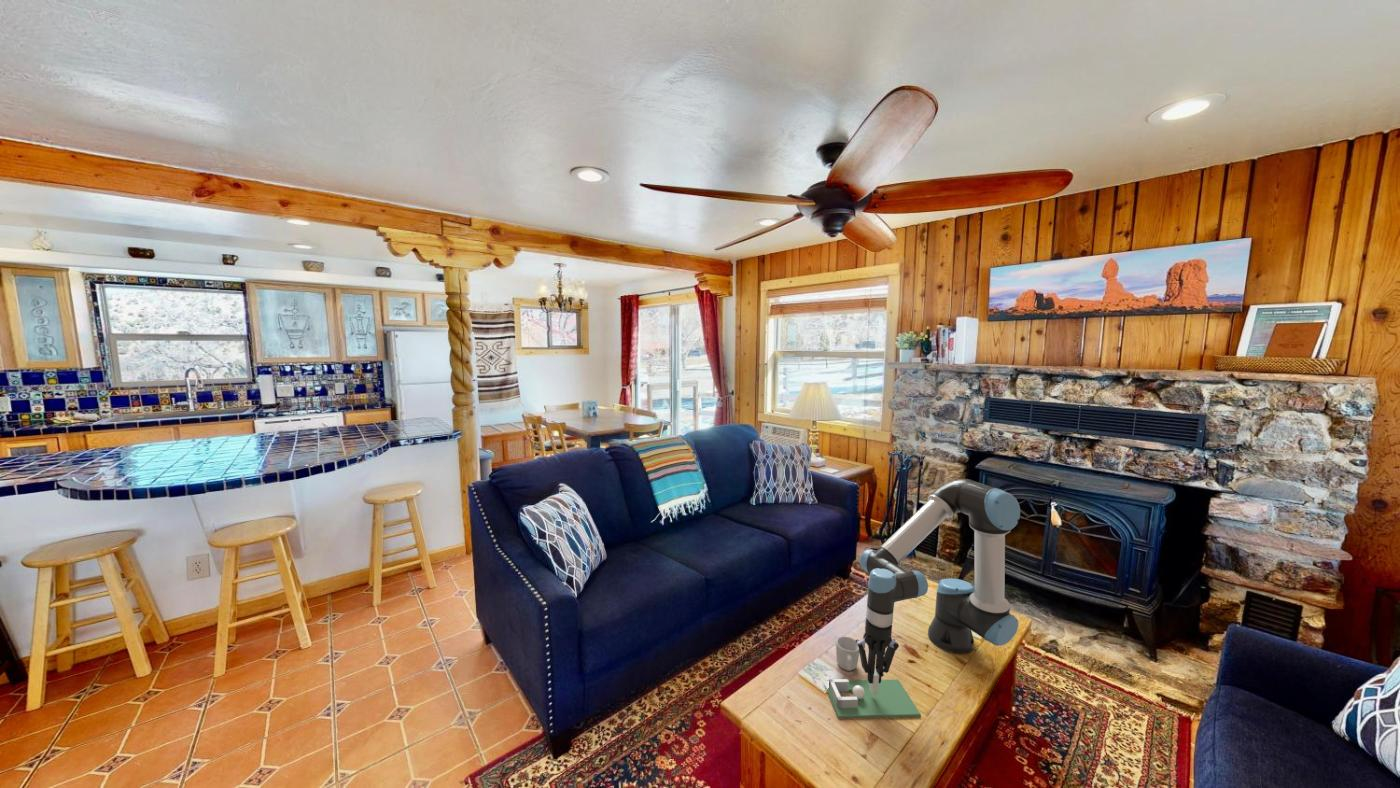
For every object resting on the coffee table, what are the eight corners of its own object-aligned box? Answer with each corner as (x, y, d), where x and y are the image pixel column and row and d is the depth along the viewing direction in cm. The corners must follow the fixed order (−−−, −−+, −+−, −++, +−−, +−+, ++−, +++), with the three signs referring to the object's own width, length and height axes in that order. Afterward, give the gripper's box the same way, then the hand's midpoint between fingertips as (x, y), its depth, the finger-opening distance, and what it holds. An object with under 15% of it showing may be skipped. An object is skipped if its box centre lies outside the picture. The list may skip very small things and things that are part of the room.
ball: (863, 689, 144) (859, 680, 143) (868, 698, 140) (863, 689, 140) (853, 694, 144) (848, 685, 143) (858, 703, 140) (853, 694, 140)
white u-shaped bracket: (846, 689, 146) (847, 679, 146) (857, 710, 138) (857, 699, 138) (828, 689, 146) (829, 679, 146) (837, 710, 138) (838, 700, 137)
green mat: (898, 681, 150) (898, 679, 150) (920, 716, 136) (920, 714, 136) (823, 682, 149) (823, 680, 149) (838, 718, 135) (838, 715, 135)
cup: (861, 681, 150) (863, 658, 149) (836, 677, 151) (837, 655, 150) (857, 659, 160) (858, 638, 159) (833, 655, 162) (835, 634, 161)
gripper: (893, 613, 143) (888, 682, 146) (853, 613, 143) (848, 682, 146) (905, 628, 136) (899, 700, 139) (863, 628, 135) (857, 701, 138)
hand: (873, 691), depth 142 cm, fingers closed
